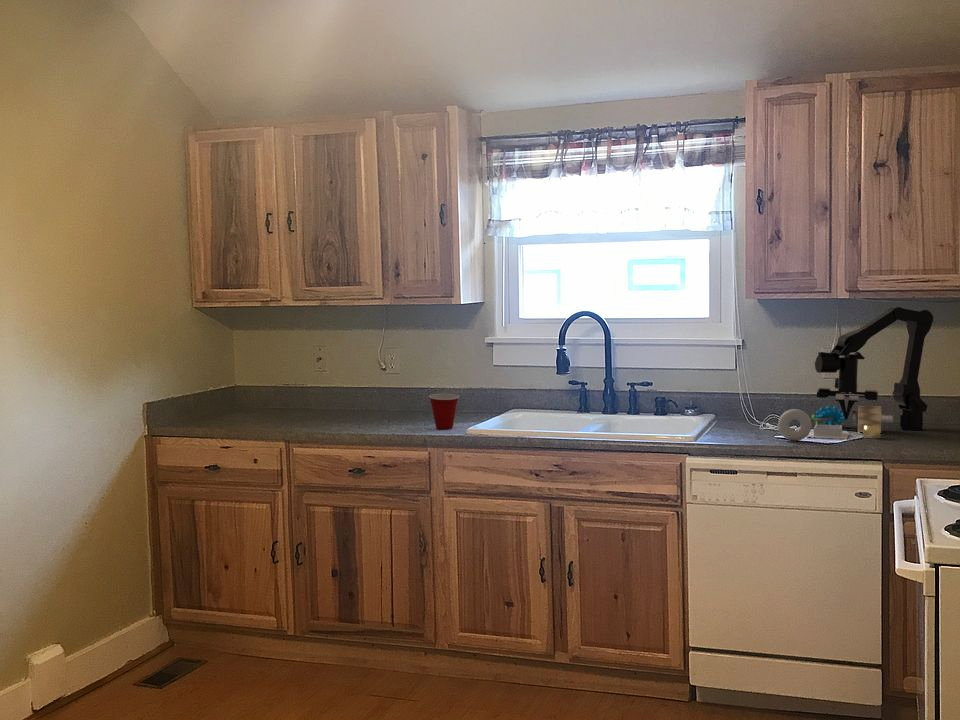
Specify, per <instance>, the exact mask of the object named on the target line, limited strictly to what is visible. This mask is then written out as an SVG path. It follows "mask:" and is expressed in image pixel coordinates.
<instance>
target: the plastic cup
mask: <svg viewBox="0 0 960 720" xmlns="http://www.w3.org/2000/svg"><path fill="white" fill-rule="evenodd" d="M428 398H429V400H430V403H431V408H432V409H431V410H432V414H433V419H434V425H435V428H436V430H441V431H442V430H452V429H453V428H454V421H455V418H456V417H455V416H456V410H457V404H458V400H459V398H460V395H458V394H455V393H432V394H429V395H428Z"/></svg>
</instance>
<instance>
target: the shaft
mask: <svg viewBox="0 0 960 720" xmlns="http://www.w3.org/2000/svg"><path fill="white" fill-rule="evenodd" d="M851 421H852V426H858V409H852V420H851ZM881 423H894V415H893V414H881Z"/></svg>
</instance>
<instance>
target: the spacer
mask: <svg viewBox="0 0 960 720" xmlns="http://www.w3.org/2000/svg"><path fill="white" fill-rule="evenodd" d="M880 428H881V429H882V425H881V426H880V425H874V424H866V425H863V433H862V434H863V435H862V436H863V437H865V438H864V439H866V438H880V439H881V434H880ZM863 437H862V438H863Z"/></svg>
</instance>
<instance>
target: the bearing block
mask: <svg viewBox="0 0 960 720" xmlns="http://www.w3.org/2000/svg"><path fill="white" fill-rule="evenodd" d="M857 410H858V425H857V433H858V432H863V425H866V424H874V425H880V426H881V428H880V433H881V434H882V422H881V415H882V406H880V405H879V406H878V405H858V407H857Z"/></svg>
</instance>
